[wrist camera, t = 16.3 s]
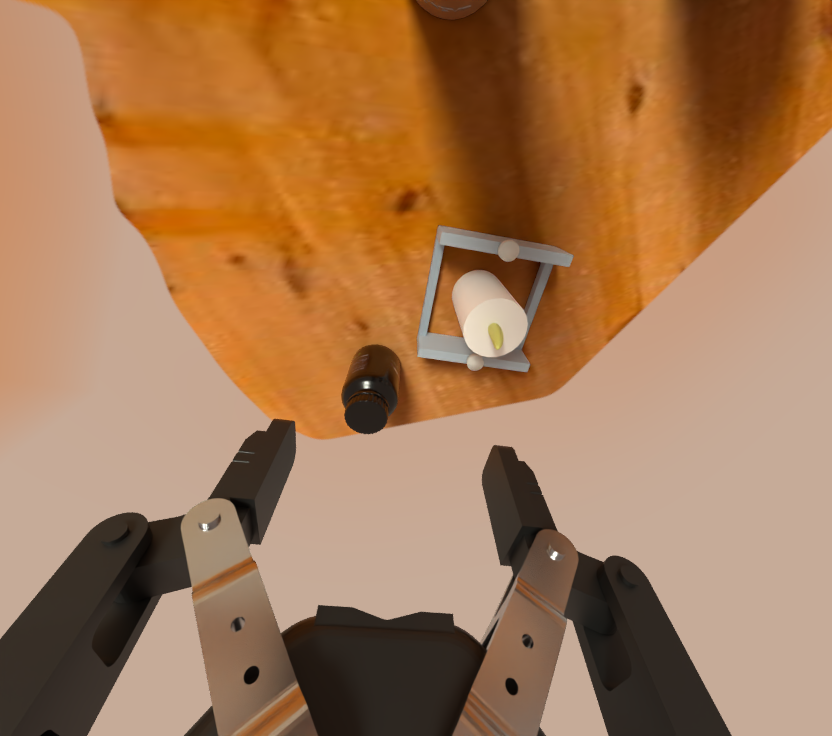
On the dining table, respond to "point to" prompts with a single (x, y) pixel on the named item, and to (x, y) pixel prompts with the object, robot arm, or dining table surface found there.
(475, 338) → the candle
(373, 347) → the supplement bottle
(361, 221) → the dining table surface
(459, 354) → the holder
